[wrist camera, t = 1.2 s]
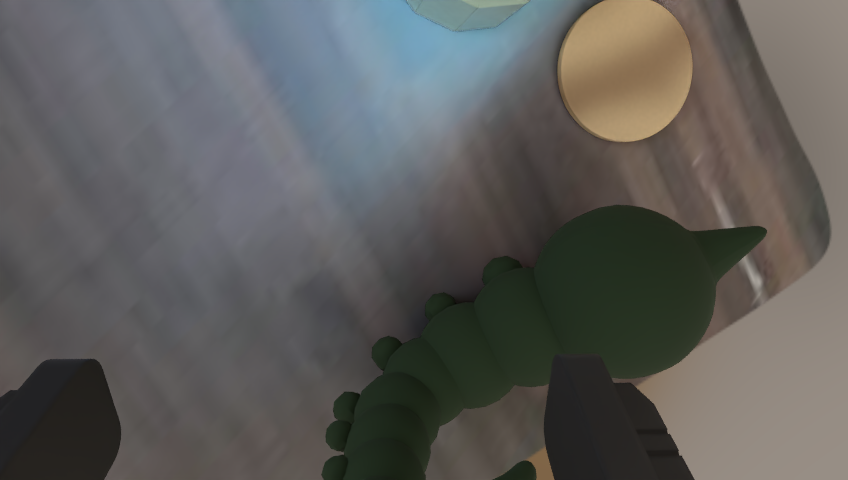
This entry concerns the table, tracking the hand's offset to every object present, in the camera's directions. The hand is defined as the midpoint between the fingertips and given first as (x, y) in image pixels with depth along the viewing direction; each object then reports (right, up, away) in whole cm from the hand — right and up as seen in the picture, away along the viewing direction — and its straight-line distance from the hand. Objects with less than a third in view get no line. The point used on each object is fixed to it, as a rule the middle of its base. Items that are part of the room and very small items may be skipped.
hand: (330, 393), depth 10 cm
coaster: (+14, +14, +27) cm, 33 cm away
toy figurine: (+7, -2, +28) cm, 28 cm away
